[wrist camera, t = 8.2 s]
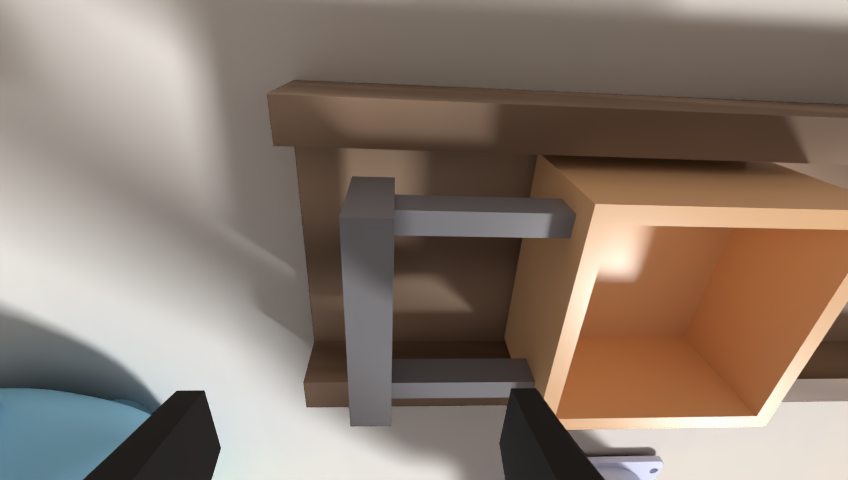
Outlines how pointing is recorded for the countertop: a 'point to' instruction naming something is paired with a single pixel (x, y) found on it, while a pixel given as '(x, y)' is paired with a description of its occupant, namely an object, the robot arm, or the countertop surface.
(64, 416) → the decorative pot
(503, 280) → the bay
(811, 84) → the countertop surface
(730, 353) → the drawer
